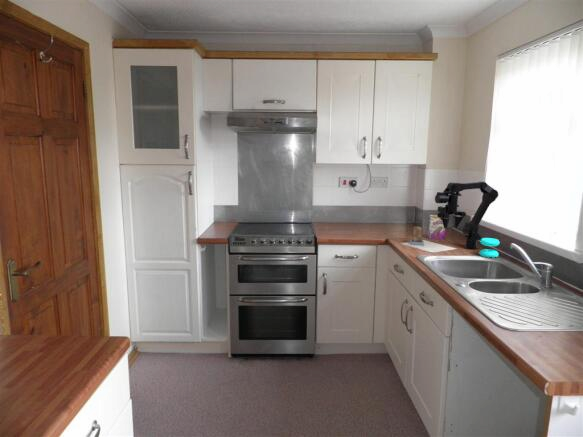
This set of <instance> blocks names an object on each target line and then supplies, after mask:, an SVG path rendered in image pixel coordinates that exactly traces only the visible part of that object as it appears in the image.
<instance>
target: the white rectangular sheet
mask: <svg viewBox="0 0 583 437" xmlns="http://www.w3.org/2000/svg"><path fill="white" fill-rule="evenodd" d="M422 240H423V242H424V246H419V245H411V244H410V241H409V242H406V241H405V242H400V244H401V245H403V246H404V245H405V246H407V247H411V248H415V249H419V250H422V251H426V252H430V253H437V252H438V253H439V252H445V251H446V252H447V251H452V250H457V248H455V247H452V246H448V245H444V244H440V243H436V242H432V241H429V240H425V239H422Z"/></svg>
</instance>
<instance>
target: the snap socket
mask: <svg viewBox="0 0 583 437" xmlns="http://www.w3.org/2000/svg"><path fill="white" fill-rule="evenodd" d="M423 240H424V239H421V242H413V239H409V242H410V244H411V245H419V246H424V242H423Z"/></svg>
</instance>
